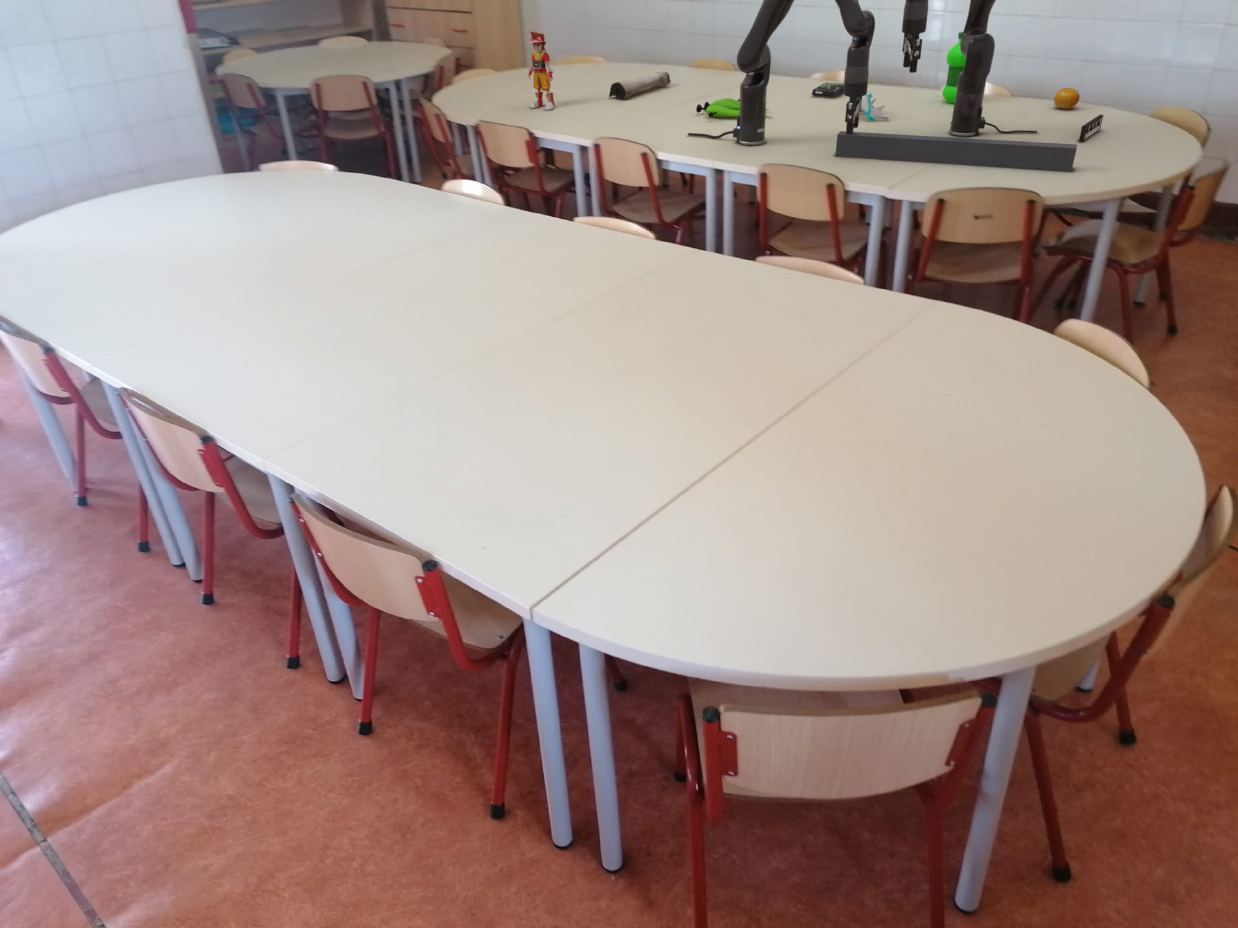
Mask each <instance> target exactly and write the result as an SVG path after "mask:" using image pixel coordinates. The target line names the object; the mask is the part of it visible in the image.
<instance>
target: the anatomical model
mask: <svg viewBox="0 0 1238 928" xmlns="http://www.w3.org/2000/svg"><path fill="white" fill-rule="evenodd" d="M872 98H873V95H872V93H870V92H869V91H868V90H867V94H866V95H865V96H862V107H861V113H864V114H865V115H866V118H867V119H868V121H870V122H874V121H876V120H882V119H883V120H886V119H888V118H889V115H888V114H884V113H883V109H884V108H885V107H886V105H885V104H881V105H879V106H874V103H875V102H876V100H877V99H876V98H873V99H872Z"/></svg>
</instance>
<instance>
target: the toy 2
mask: <svg viewBox="0 0 1238 928" xmlns="http://www.w3.org/2000/svg"><path fill="white" fill-rule="evenodd" d="M702 111H705V112H706V114H707V115H708V117H709V118H713V117H715V118H716V117H717V118H724V117H725V118H737V115H739V114H740V98H738V99H734V98H729V97H727V98H722V99H717V100H715V101H713V102H711V103H710V102H709V101H705V102H704V105H703V106H702V104H700V103H699V104H697V105H696V113H698V114H699V113H701V112H702ZM766 112H770V110H769V109H767V108H766ZM766 118H771V116H769V115H766Z"/></svg>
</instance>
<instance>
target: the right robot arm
mask: <svg viewBox="0 0 1238 928" xmlns="http://www.w3.org/2000/svg"><path fill="white" fill-rule="evenodd" d="M996 1H997V0H970V2H969V8H968V13H967V16H966V21H965V24H964V28H963V31H962V32H963V35H962V38H961V42H960V50H961V53H962V55H963V56H964V57H966V61H965V66H964V70H963V71H962V72H961V73H960V74H959V77H958V83H957V90H956V96H955V103H953V110H952V115H951V121H950V129H949V134H950V135H952V136H954V137H955V136H956V137H973V136H979V131H980V130H981V129H982V130H983V129H985V126H988V127H992V128H994V129H995V130H996V131H997V132H998V133H1000V134H1015V133H1022V134H1023V133H1025V134H1028V133H1029V134H1032V133H1033V134H1037V133H1038V130H1009V131H1007V130H1005V131H1004V130H1001V129H1000V128H999V127H998V126H997V125H995V124H993V123H989V122H986V118H985V116H982V115H983V109H984V107H983V102H984V96H985V90H986V83H987V79H988V77H989V74H990V73H991V69H992V64H993V59H994V55H995V49H996V41H995V38H994V36H993V35H992V34H990V33H988V25H989V18H990V15H991V12H992V9H993V7H994V5H995V3H996ZM928 14H929V0H905V3H904V7H903V14H902V15H903V18H902V23H901V24H902V25H901V32H902V33H903V42H902V48H901V51H902V55H903V63H902V67H903V68H908V69H909V70H908V72H909V73H911V74H912V73H913V74H914V73H917V71H918V62H919V60H921V58H922V47H923V38H920V34H923V33H925V32H926V30H927V23H928Z"/></svg>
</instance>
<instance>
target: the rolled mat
mask: <svg viewBox="0 0 1238 928" xmlns="http://www.w3.org/2000/svg"><path fill="white" fill-rule="evenodd" d="M671 83H672V81H671V77H670V74H669V72H668V71H658V72H654V73H649V74H645V75H640V76H637V77H633V78H628V79H623V80H620V81H616V82H613V83H612V84H611V85H610V89H609V95H608V97H609V98H611V97H616V99H620V100H622V101H623V100H626V99H627V98H629V97H630V96H632V95H635V94H636V93H638V92H640V91H643V90H644V89H647V88H650V87H655V86H658V87H659V86H661V87H665V86H669V85H670V84H671Z"/></svg>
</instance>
